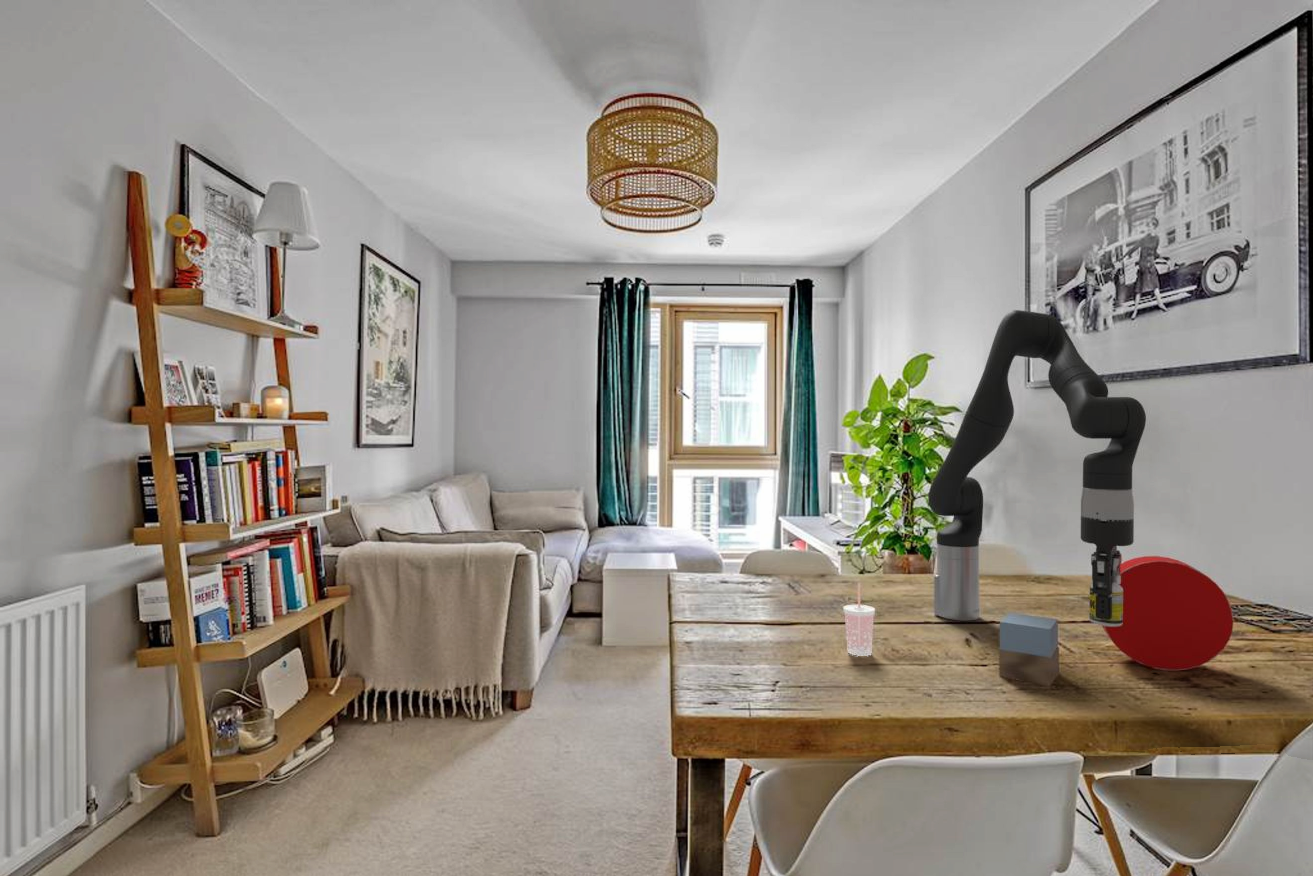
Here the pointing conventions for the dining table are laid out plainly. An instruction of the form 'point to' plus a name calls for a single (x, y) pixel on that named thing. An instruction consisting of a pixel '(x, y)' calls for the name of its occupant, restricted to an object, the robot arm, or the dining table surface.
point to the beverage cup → (859, 628)
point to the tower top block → (1029, 634)
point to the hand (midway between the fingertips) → (1105, 614)
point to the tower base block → (1029, 667)
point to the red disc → (1170, 614)
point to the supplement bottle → (1116, 605)
